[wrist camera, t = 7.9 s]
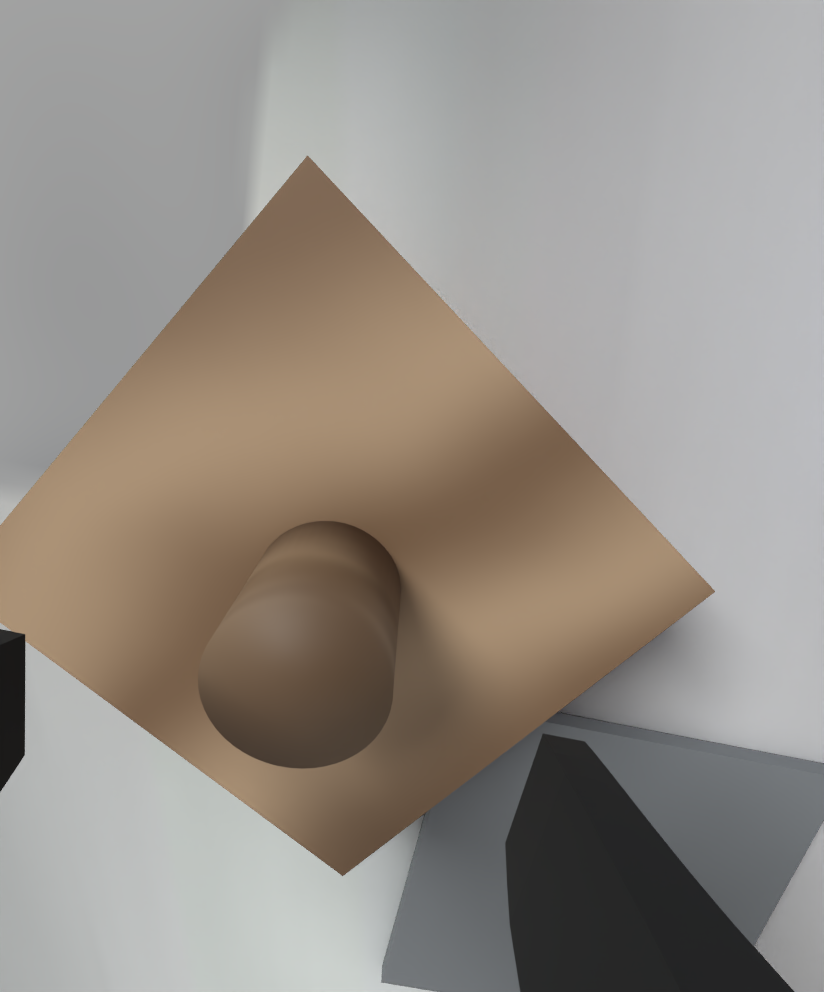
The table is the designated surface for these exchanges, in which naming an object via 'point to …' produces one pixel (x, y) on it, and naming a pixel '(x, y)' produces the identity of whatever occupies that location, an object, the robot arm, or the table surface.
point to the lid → (332, 539)
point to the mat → (660, 797)
